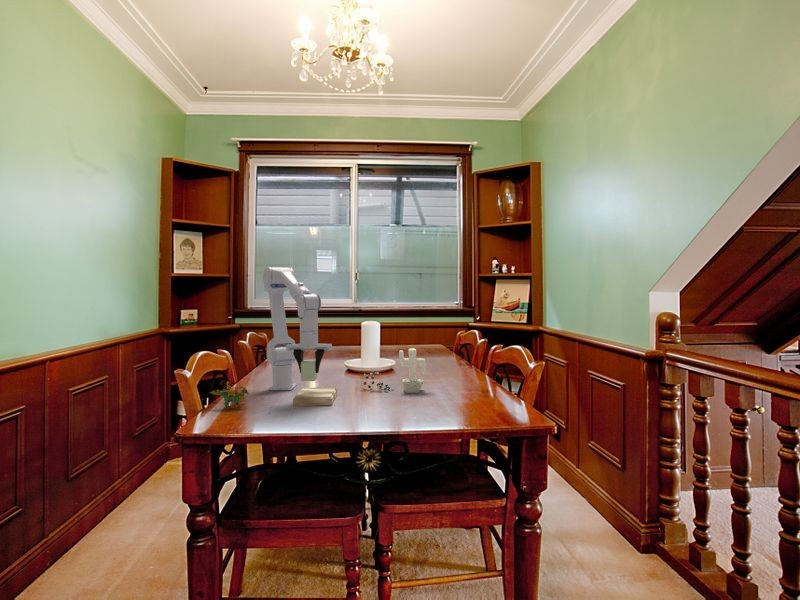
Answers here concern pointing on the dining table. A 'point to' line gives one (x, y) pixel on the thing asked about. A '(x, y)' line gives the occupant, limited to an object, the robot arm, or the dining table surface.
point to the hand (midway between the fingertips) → (309, 372)
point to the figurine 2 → (412, 370)
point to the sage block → (308, 370)
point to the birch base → (315, 396)
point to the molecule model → (375, 383)
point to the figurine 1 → (231, 395)
